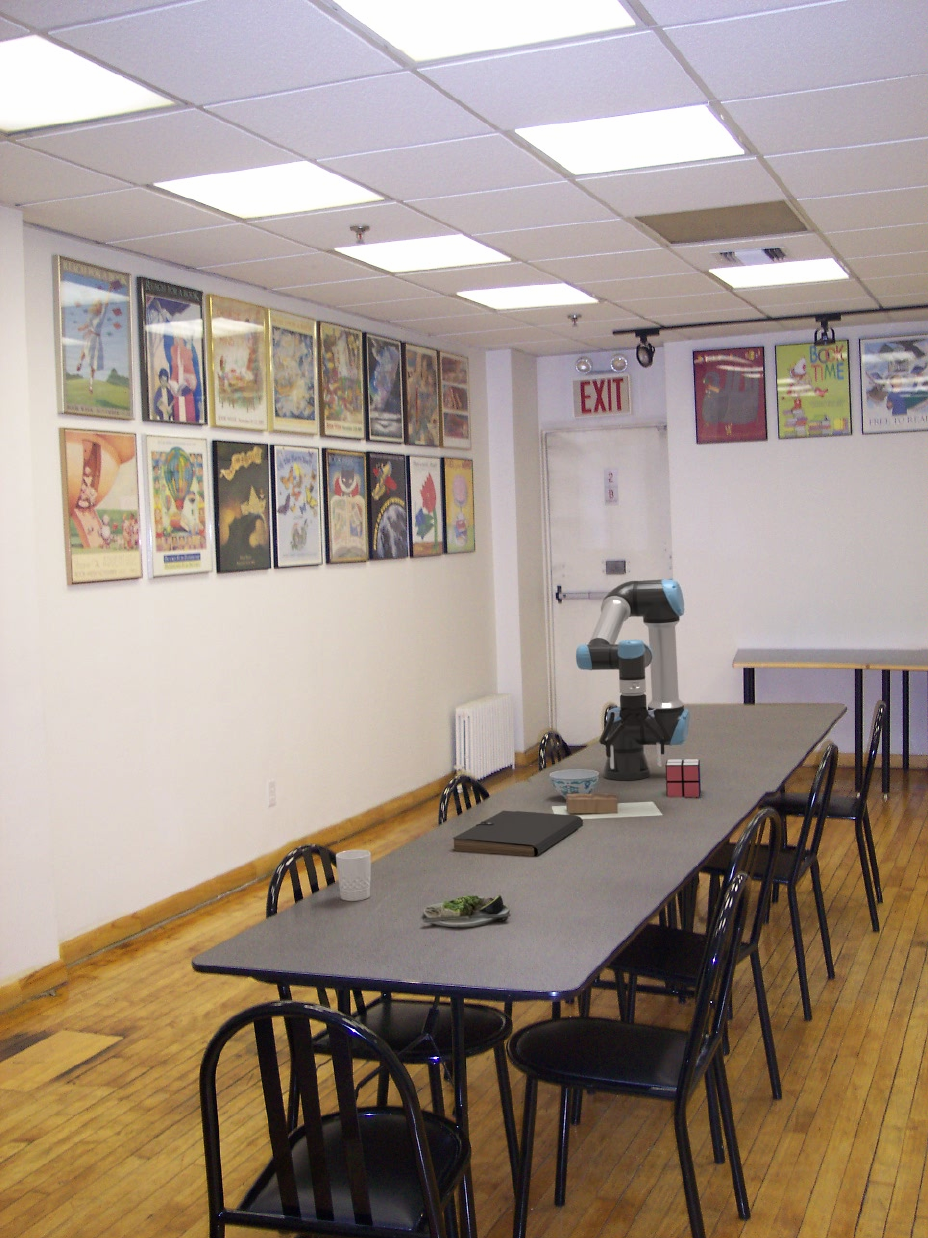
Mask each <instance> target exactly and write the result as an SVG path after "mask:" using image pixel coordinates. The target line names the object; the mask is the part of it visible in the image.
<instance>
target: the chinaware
mask: <svg viewBox="0 0 928 1238" xmlns="http://www.w3.org/2000/svg"><path fill="white" fill-rule="evenodd" d="M599 776H600V773H599V771H597V770H593V769H585V768H584V769H583V768H574V769H573V768H571V769H562V770H556V771H553V772H550V773H549V778H550V781H551V784H552V787H553V788H554V790H555V791H556V792H557V793H558V794H560V796H562V797H563V799H565V800H566V794H592V792H593V791H594V790H595V788H596V786H597V784H598V781H599Z"/></svg>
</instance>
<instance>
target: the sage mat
mask: <svg viewBox="0 0 928 1238" xmlns="http://www.w3.org/2000/svg"><path fill="white" fill-rule="evenodd" d="M551 810H552V812H553V813H552V814H562V815H575V816H579V817H580V818H581V819H583V820H591V819H594V820H597V819H614V818H615V819H616V818H632V817H633V818H634V817H636V818H637V817H639V818H640V817H654V816H656V817H657V816H663V813H662V812H661V811H660V809H659V808H658V806H657V805H656V804H655V802H654V801H639V802H638V801H637V802H618V813H568V810H567V808H566V805H557V806H556V805H552V806H551Z"/></svg>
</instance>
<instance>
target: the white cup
mask: <svg viewBox="0 0 928 1238" xmlns="http://www.w3.org/2000/svg"><path fill="white" fill-rule="evenodd" d="M371 860H372V859H371V852H370V851H369V850H365V849H348V850H344V851H340V852H337V853H336V854H335V861H336V870H337V880H338V886H339V891H340V892H339V895H340V899H341V900H342V901H347V902H357V901H363V900H367V899H369V898H370V897H371V889H370V888H371V878H372V876H371V872H372V871H371V869H372V867H371Z"/></svg>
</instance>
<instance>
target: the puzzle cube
mask: <svg viewBox="0 0 928 1238" xmlns="http://www.w3.org/2000/svg"><path fill="white" fill-rule="evenodd" d="M700 761H701V760H700V759H699V758H695V759H694V758H693V759H692V758H691V759H688V758H687V759H682V758H681V759H667V760H666V762H665V781H666V782H665V787H666V788H665V789H666V791H665V792H666V797H667V798H670V797H673V798H674V797H678V798H681V797H683V798H684V797H700V798H701V794H700V793H701V792H702V790H701V788H702V787H701V786H702V785H701V763H700Z"/></svg>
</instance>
